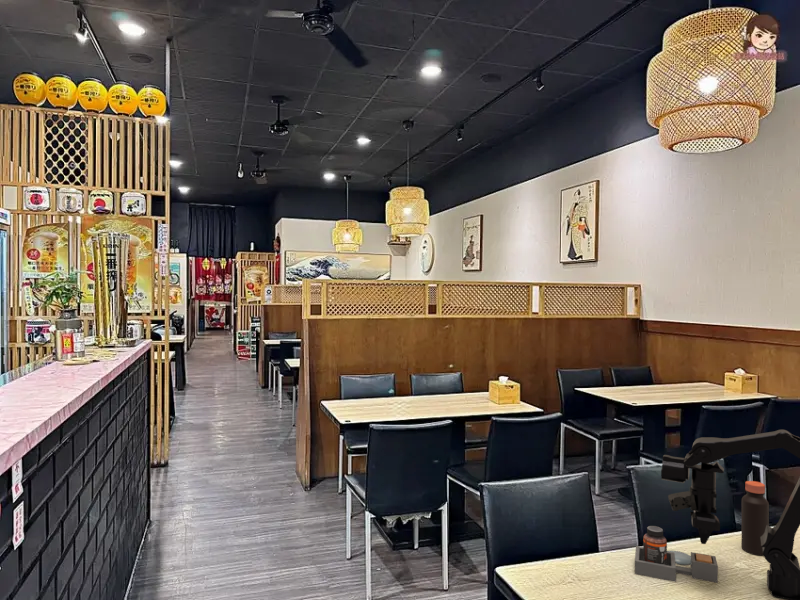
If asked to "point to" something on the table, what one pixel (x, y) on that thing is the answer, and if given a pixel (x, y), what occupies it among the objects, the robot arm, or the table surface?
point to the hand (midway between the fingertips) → (703, 543)
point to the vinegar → (754, 517)
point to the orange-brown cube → (703, 558)
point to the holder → (676, 568)
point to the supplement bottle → (655, 546)
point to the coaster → (681, 558)
